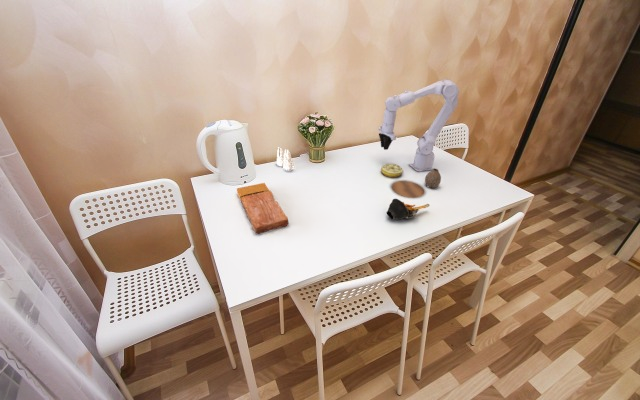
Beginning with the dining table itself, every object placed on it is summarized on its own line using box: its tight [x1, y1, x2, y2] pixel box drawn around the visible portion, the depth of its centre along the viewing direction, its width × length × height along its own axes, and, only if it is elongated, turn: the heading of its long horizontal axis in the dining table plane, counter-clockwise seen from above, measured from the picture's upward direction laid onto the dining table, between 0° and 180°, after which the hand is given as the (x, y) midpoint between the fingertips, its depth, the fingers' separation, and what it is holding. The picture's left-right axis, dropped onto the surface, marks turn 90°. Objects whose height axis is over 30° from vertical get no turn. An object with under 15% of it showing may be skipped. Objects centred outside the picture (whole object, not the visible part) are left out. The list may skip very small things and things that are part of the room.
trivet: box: [391, 180, 425, 199], centre depth 135 cm, size 15×15×1 cm
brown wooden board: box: [236, 182, 289, 235], centre depth 117 cm, size 13×30×3 cm, turn 26°
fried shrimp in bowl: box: [386, 198, 430, 221], centre depth 116 cm, size 9×11×18 cm
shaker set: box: [276, 146, 296, 172], centre depth 146 cm, size 12×4×11 cm, turn 38°
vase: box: [424, 168, 442, 189], centre depth 136 cm, size 7×7×9 cm
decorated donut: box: [380, 163, 404, 178], centre depth 146 cm, size 10×11×4 cm
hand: (384, 148), depth 150 cm, fingers closed
